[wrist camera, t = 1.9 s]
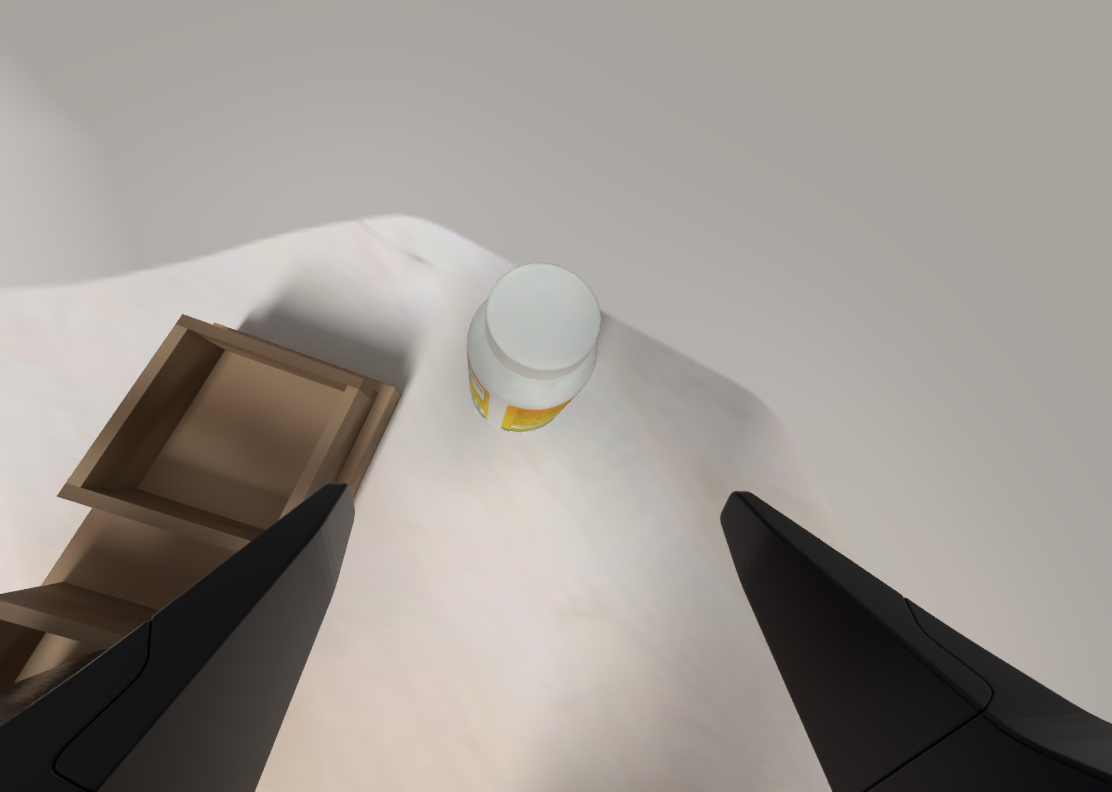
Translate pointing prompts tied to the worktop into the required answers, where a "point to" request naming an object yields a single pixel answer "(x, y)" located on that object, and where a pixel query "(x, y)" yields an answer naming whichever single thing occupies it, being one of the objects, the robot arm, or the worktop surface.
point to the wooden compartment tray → (190, 483)
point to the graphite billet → (38, 686)
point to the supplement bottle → (532, 346)
